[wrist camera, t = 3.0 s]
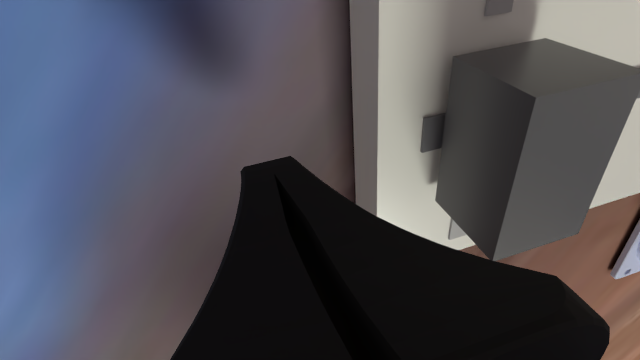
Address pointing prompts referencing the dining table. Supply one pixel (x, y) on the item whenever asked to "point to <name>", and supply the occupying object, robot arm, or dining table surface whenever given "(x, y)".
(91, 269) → the dining table surface
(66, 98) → the dining table surface
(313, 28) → the dining table surface
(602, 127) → the fader knob
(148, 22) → the dining table surface
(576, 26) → the fader panel
